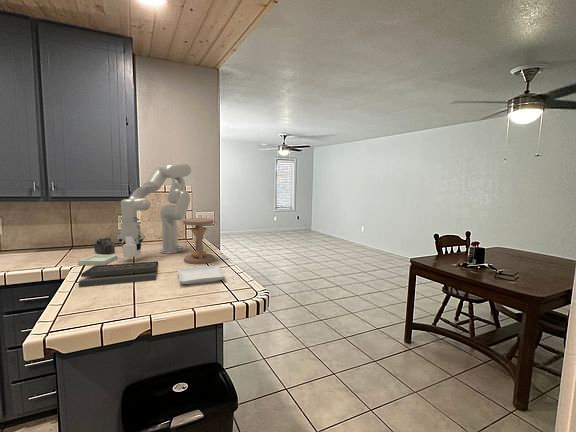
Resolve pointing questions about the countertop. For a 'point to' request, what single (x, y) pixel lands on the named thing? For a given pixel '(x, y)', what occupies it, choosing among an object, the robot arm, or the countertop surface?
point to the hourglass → (198, 241)
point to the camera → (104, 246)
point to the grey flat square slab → (200, 274)
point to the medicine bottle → (130, 248)
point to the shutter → (119, 270)
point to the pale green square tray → (97, 260)
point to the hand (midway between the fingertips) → (131, 249)
